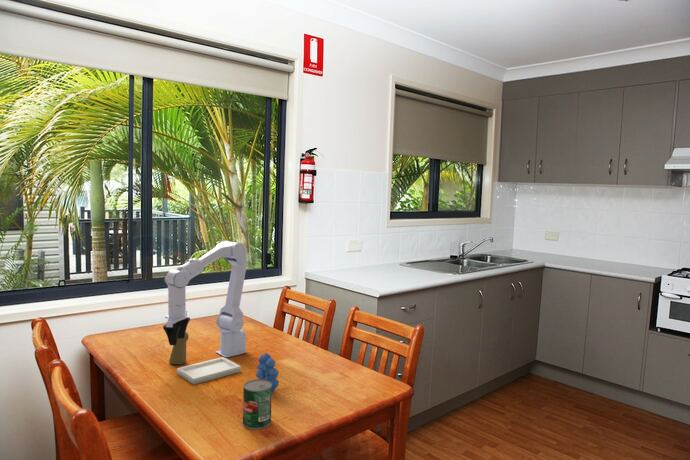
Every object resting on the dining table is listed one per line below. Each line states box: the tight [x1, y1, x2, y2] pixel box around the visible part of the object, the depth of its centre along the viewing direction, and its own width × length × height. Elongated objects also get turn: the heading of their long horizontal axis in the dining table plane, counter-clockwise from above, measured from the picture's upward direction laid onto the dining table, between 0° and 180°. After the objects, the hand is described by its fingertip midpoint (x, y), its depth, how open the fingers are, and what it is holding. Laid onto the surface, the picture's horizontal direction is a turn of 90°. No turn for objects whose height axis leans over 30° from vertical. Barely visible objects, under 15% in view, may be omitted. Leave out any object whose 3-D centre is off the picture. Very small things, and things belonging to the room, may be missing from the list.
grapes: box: [255, 352, 280, 394], centre depth 159 cm, size 12×7×12 cm, turn 36°
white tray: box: [176, 356, 242, 386], centre depth 172 cm, size 18×12×2 cm, turn 134°
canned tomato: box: [242, 378, 273, 430], centre depth 137 cm, size 8×8×11 cm
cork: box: [168, 331, 189, 365], centre depth 181 cm, size 6×6×11 cm
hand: (177, 341), depth 174 cm, fingers open, 7 cm apart
